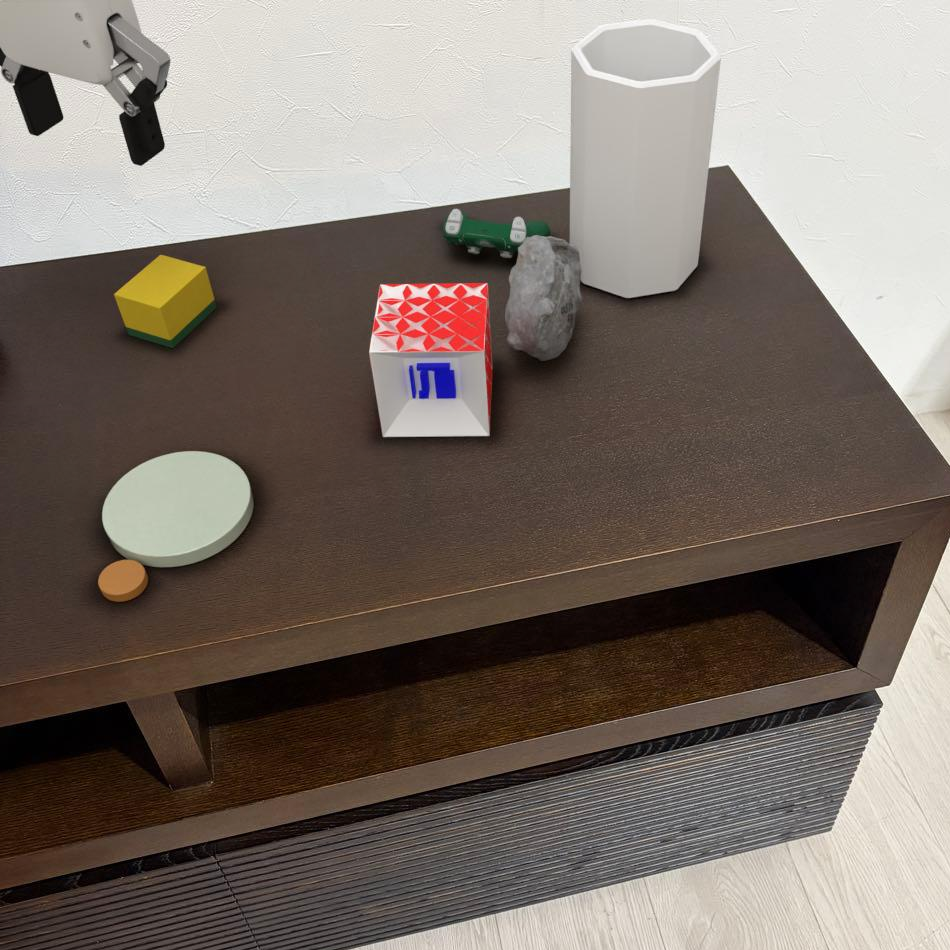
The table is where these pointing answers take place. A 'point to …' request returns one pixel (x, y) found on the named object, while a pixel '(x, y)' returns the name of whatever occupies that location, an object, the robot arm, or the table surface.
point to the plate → (178, 509)
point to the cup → (640, 153)
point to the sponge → (166, 301)
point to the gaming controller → (490, 233)
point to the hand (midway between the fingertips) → (97, 142)
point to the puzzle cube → (432, 359)
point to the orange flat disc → (123, 580)
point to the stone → (543, 296)
